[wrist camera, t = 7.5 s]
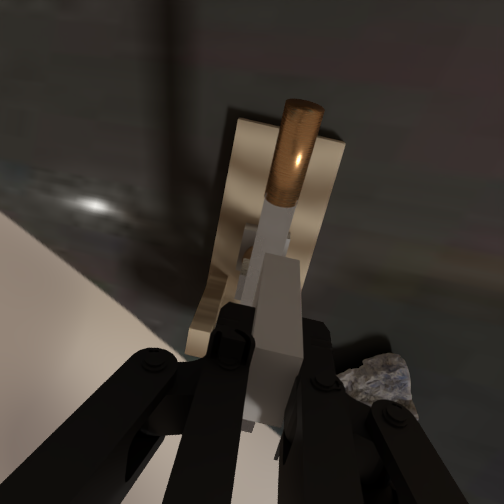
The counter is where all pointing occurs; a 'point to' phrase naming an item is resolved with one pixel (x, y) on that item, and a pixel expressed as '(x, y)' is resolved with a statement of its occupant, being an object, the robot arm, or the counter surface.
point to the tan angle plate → (248, 215)
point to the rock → (380, 381)
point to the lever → (281, 194)
